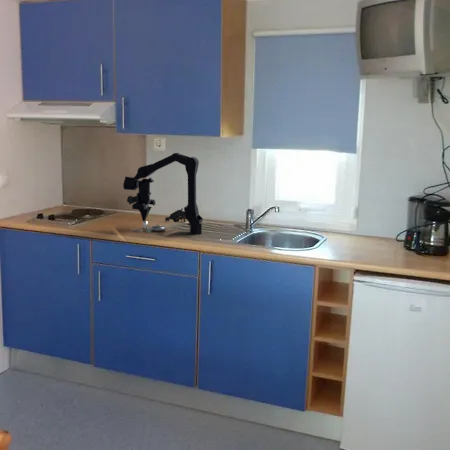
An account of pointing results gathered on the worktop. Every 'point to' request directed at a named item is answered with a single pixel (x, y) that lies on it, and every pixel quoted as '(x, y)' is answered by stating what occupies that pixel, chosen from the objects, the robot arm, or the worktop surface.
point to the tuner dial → (153, 227)
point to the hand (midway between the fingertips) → (144, 220)
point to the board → (165, 233)
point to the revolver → (176, 216)
